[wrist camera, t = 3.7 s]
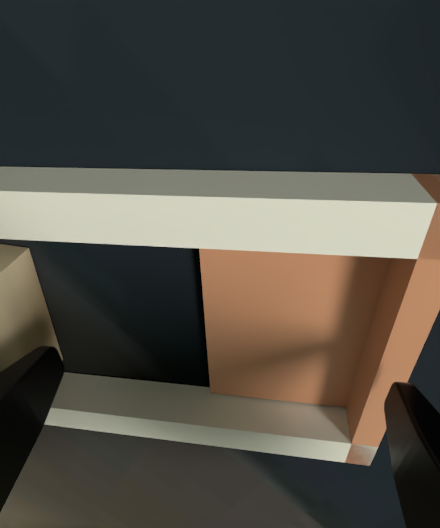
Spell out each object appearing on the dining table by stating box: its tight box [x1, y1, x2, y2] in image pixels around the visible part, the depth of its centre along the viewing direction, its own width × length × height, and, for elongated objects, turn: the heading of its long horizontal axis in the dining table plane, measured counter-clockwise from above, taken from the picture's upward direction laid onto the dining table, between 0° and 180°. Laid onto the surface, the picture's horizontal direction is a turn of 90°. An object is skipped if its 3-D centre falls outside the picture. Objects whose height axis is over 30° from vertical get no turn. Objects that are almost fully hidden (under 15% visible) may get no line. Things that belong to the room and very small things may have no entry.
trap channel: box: [0, 167, 440, 466], centre depth 10 cm, size 9×17×2 cm, turn 92°
